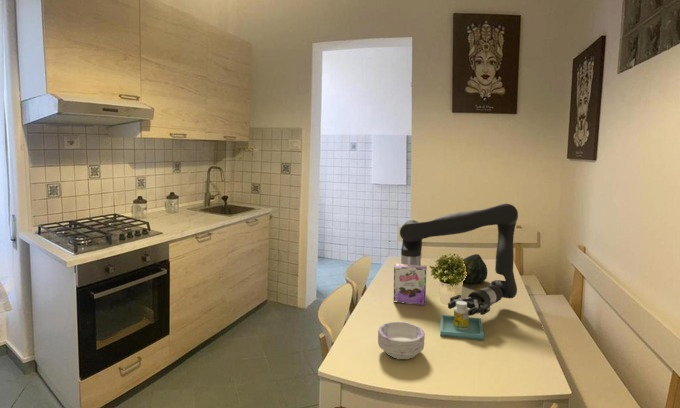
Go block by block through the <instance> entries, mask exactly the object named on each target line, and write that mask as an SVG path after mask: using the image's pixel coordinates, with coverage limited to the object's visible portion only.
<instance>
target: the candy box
mask: <svg viewBox="0 0 680 408" xmlns="http://www.w3.org/2000/svg"><path fill="white" fill-rule="evenodd" d="M393 268H394V269H393V302H394V301H397V302H404V303H411V304H410V305H414V304H419V305H418V306H426V303H425V302H427V300H426V299H427V297H426V296H427V295H426V293H427V271H428V270H427V265H422V264H421V265H407V264H401V263H395V265H394V267H393ZM404 303H403V304H404Z"/></svg>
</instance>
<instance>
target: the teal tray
mask: <svg viewBox="0 0 680 408" xmlns="http://www.w3.org/2000/svg"><path fill="white" fill-rule="evenodd" d="M439 326H440V330H439V331H440V332H439V336H440V337H445V338H446V337H448V338H456V339H466V340H477V341H485V333H484V328H483V323H482V318H480V317H470V316H469V326H468V329H466V330H459V329H456V328H455V327H454V315H447V314H440V325H439Z"/></svg>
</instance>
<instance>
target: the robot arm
mask: <svg viewBox="0 0 680 408" xmlns="http://www.w3.org/2000/svg"><path fill="white" fill-rule="evenodd" d="M518 218H519V211H518V209H517V207H515V205H513V204H511V203H502V204H501V203H500V204H497V205H494V206H491V207H488V208H482V209H478V210H469V211H461V212H455V213H449V214H446V215H443V216H439V217H436V218H434V219H431V220H427V221H421V222H419V221H418V220H415V219H410V220H407V221H406V222H405V223H403V224H402V226H401V227H400V230H399V236H400V238H401V239H402V245H401V250H400V255H401V256H400V264H407V265H421V266H422V264H421V263H422V261H421V260H422V247H423V239H428V238H432V237H442V236H443V237H444V236H450V235H451V236H453V235H458V234H464V233H468V232H472V231H474V230H475V231H476V230H478V229H480V228H482V227H486V226H497V237H498V238H497V245H496V252H495V267H494V268H495V274H497V275H501V276H503V277H504V280H500V279H498V280H497V279H494V280H492V281H491V282H490V283H489V284H488V285H487V286H485V287H481V288H478V289H477V290H474V291H472V292H470V293H469V294H468V296H466V297H462V295H461V294H457V295H455V296H451V297H450V298H449V302H447V309H449V310H451V309H454V308H455V307H456V302H457V301H464V302H466V303H467V308H468V315H469V317H470V316H474V315H477V314H480V315H482V316H484V315H486V314H487V313H489V312H490V311H491V306H493V305H494V304H497V303H499V302H500V301H501V300H502V298H504V299H513V298H515V297H516V295H517V293H518V287H517V282H516V279H515V274H514V256H515V255H514V238H515V237H514V236H515V235H514V234H515V228H516V224H517V221H518Z"/></svg>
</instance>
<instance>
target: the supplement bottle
mask: <svg viewBox="0 0 680 408" xmlns="http://www.w3.org/2000/svg"><path fill="white" fill-rule="evenodd" d="M468 310H469V308H467V303H466V302H464V301H457V302H456V306H455V307H454V308H453V316H454V327H455V328H456V329H459V330H466V329H468V326H469V317H470V316H469V315H468Z"/></svg>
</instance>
